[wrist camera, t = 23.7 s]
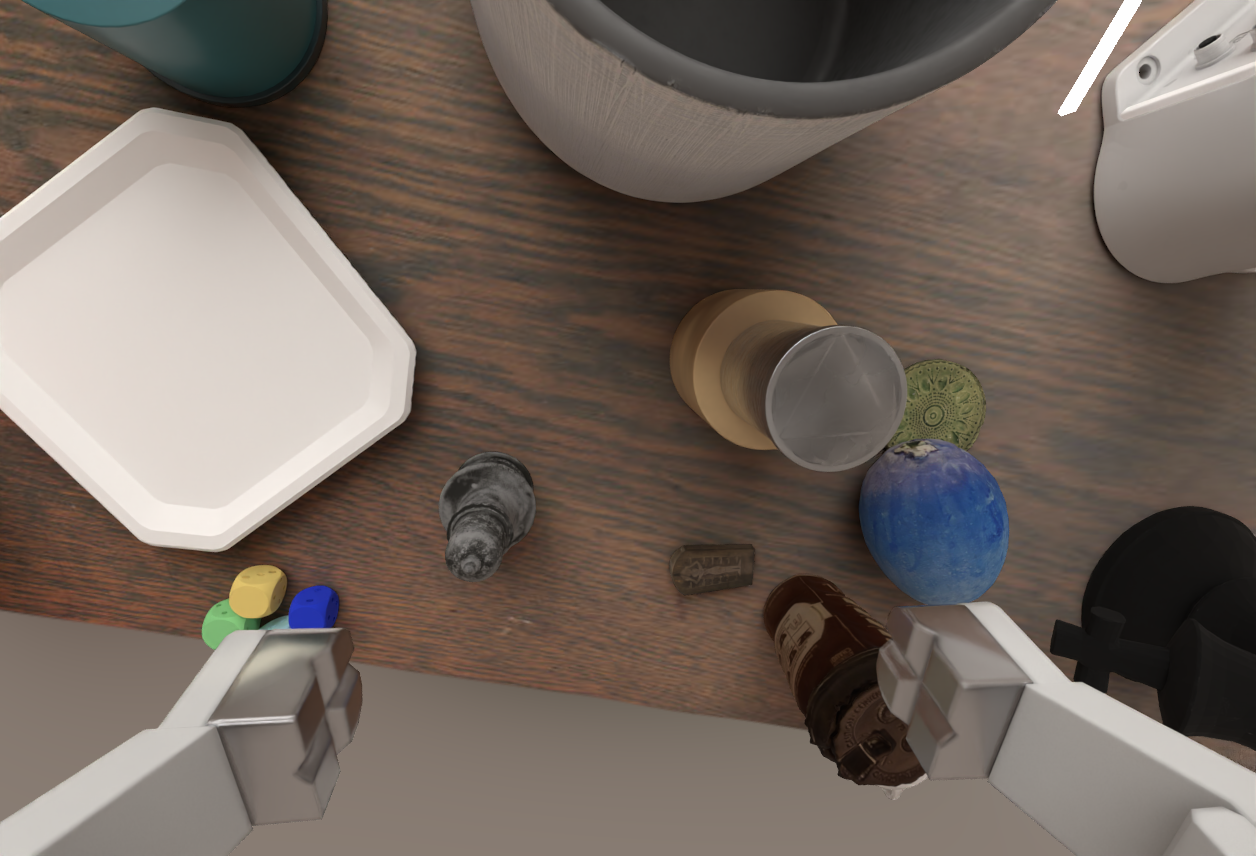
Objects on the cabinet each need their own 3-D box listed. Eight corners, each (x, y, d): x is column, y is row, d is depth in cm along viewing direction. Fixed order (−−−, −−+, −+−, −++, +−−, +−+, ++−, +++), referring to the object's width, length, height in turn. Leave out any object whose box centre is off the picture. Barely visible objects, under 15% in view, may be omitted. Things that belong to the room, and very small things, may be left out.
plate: (-76, 302, 34) (-119, 303, 31) (213, 81, 33) (189, 67, 31) (201, 567, 39) (180, 583, 37) (455, 382, 38) (449, 388, 36)
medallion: (859, 395, 42) (864, 397, 41) (958, 337, 41) (965, 338, 41) (902, 487, 44) (908, 491, 43) (997, 432, 44) (1004, 435, 43)
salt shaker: (533, 533, 41) (524, 630, 30) (445, 526, 40) (401, 624, 29) (541, 451, 40) (536, 520, 28) (451, 442, 39) (408, 509, 28)
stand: (729, 259, 39) (766, 254, 32) (826, 346, 41) (880, 359, 34) (642, 369, 40) (659, 386, 33) (740, 448, 42) (776, 480, 35)
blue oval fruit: (897, 434, 32) (935, 657, 37) (1029, 383, 34) (1051, 604, 38) (812, 405, 41) (851, 590, 45) (921, 365, 42) (949, 548, 46)
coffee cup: (741, 663, 46) (811, 807, 33) (746, 563, 44) (823, 676, 31) (849, 655, 47) (957, 792, 34) (859, 557, 45) (978, 664, 32)
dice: (355, 622, 41) (317, 541, 39) (343, 645, 39) (301, 560, 37) (242, 658, 41) (197, 579, 39) (221, 684, 38) (173, 600, 37)
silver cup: (732, 304, 32) (788, 311, 24) (840, 329, 33) (926, 342, 26) (704, 418, 33) (748, 458, 26) (809, 438, 35) (882, 483, 27)
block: (759, 553, 41) (752, 538, 43) (673, 553, 41) (670, 538, 43) (752, 595, 43) (746, 579, 45) (669, 596, 42) (666, 580, 44)
